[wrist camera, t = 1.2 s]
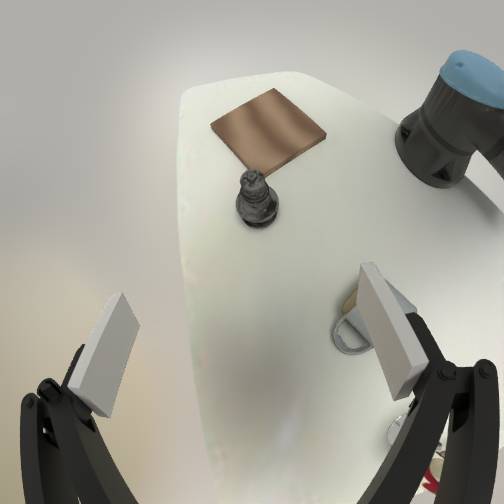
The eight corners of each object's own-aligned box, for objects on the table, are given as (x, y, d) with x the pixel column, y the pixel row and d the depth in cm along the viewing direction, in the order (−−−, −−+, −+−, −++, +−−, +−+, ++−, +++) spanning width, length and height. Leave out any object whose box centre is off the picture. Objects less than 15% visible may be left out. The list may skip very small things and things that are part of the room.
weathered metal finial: (236, 197, 42) (221, 156, 30) (274, 190, 42) (272, 146, 30) (242, 233, 41) (227, 201, 29) (282, 226, 40) (283, 191, 29)
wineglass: (405, 399, 33) (471, 438, 15) (434, 418, 31) (498, 456, 13) (372, 440, 32) (418, 500, 14) (403, 457, 30) (452, 510, 12)
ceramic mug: (365, 273, 38) (383, 264, 30) (403, 309, 36) (427, 308, 28) (317, 330, 37) (326, 334, 29) (357, 365, 35) (374, 377, 28)
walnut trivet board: (274, 93, 46) (274, 87, 45) (325, 138, 43) (326, 133, 42) (212, 128, 45) (210, 123, 44) (259, 181, 42) (258, 177, 41)
